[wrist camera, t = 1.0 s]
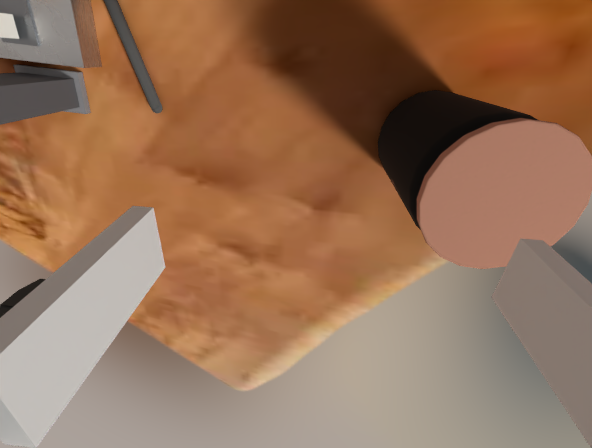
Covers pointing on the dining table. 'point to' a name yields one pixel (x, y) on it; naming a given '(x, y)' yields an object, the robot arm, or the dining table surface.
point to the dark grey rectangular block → (41, 93)
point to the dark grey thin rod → (133, 54)
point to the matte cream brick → (8, 26)
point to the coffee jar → (483, 176)
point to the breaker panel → (52, 32)
